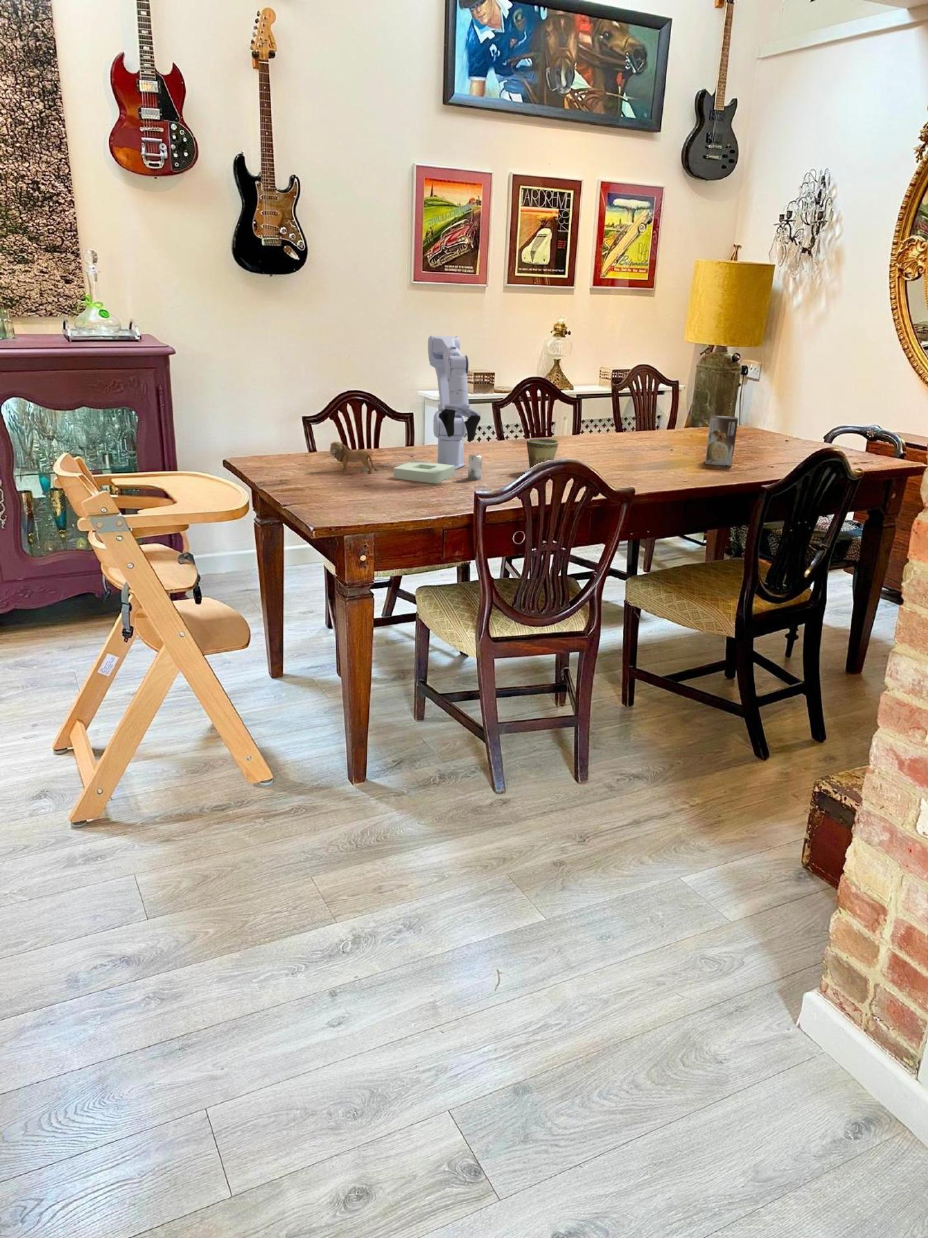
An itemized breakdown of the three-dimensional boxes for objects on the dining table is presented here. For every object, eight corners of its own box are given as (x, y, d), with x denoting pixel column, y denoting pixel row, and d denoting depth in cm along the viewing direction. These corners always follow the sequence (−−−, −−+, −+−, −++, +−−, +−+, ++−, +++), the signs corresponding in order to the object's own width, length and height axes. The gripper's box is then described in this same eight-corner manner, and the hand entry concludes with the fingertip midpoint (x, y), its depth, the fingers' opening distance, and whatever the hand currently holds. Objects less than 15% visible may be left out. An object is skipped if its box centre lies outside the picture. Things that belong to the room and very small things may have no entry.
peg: (470, 476, 267) (471, 453, 265) (483, 478, 266) (484, 455, 264) (465, 478, 264) (466, 455, 261) (478, 480, 263) (479, 457, 260)
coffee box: (731, 463, 306) (738, 416, 301) (731, 466, 301) (739, 419, 295) (704, 460, 308) (710, 414, 302) (704, 464, 302) (711, 417, 297)
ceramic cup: (554, 476, 272) (556, 444, 269) (522, 474, 274) (524, 442, 270) (558, 468, 284) (560, 437, 281) (528, 466, 286) (530, 435, 282)
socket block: (413, 469, 273) (414, 460, 272) (454, 475, 268) (455, 465, 267) (393, 477, 261) (393, 467, 260) (435, 483, 256) (436, 473, 255)
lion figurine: (328, 472, 265) (328, 442, 262) (331, 468, 270) (331, 439, 267) (377, 474, 265) (377, 444, 262) (378, 470, 270) (379, 441, 267)
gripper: (447, 384, 252) (449, 429, 250) (485, 394, 261) (488, 438, 259) (432, 393, 257) (435, 437, 255) (471, 402, 266) (473, 445, 264)
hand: (461, 438), depth 257 cm, fingers open, 7 cm apart
